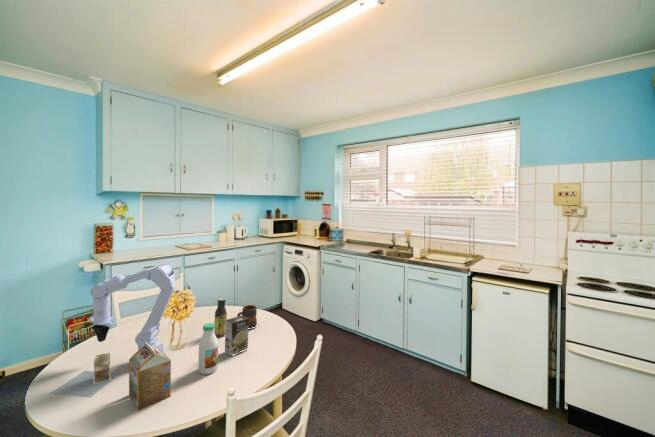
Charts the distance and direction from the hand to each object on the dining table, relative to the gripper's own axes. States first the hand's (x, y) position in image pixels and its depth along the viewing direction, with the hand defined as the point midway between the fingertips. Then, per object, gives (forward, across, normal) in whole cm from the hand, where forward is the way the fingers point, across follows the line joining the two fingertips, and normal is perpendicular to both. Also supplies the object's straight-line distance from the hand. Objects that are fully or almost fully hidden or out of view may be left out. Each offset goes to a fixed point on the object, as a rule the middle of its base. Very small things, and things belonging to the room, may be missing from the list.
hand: (101, 340), depth 127 cm
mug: (+11, -33, -58) cm, 67 cm away
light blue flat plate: (+10, -10, +11) cm, 18 cm away
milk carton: (+11, -38, +6) cm, 39 cm away
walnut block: (+10, -12, +7) cm, 17 cm away
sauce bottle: (+11, -26, -44) cm, 52 cm away
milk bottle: (+11, -44, -16) cm, 48 cm away
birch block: (+5, -12, +7) cm, 15 cm away
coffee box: (+11, -45, -34) cm, 57 cm away
